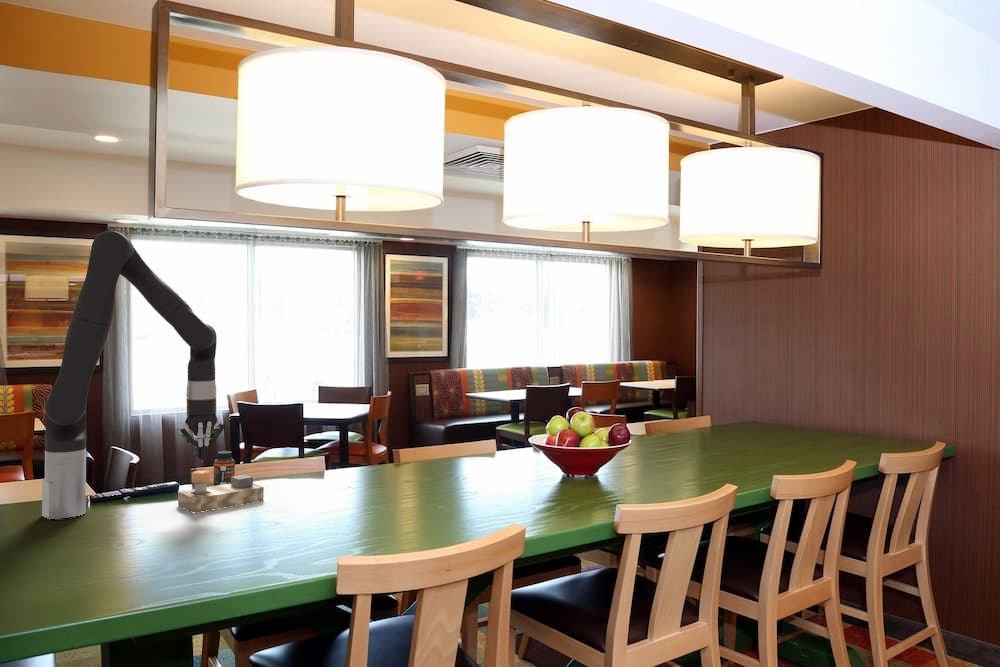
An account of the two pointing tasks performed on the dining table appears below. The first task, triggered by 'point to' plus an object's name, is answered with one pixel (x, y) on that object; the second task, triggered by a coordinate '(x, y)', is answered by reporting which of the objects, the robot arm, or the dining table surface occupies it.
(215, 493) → the mount
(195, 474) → the round knob
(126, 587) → the dining table surface
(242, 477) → the square knob
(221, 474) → the supplement bottle
